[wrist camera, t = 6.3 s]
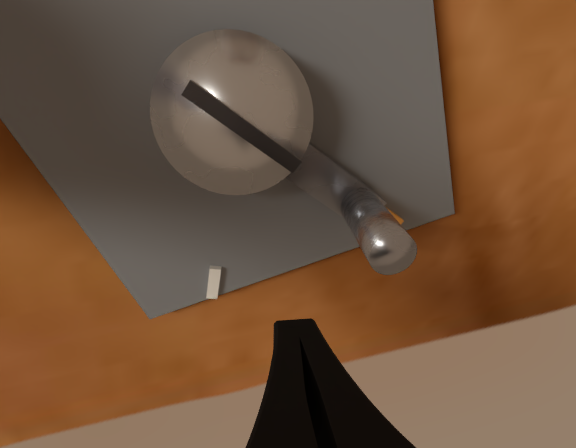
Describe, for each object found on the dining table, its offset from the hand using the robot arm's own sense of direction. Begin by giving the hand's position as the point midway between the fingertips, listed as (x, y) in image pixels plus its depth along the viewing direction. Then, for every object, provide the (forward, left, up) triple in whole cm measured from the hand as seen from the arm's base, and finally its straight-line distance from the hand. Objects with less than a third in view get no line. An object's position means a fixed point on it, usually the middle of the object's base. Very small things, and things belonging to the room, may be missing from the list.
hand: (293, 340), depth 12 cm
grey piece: (-5, +2, -7) cm, 8 cm away
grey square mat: (-7, +1, -8) cm, 10 cm away
